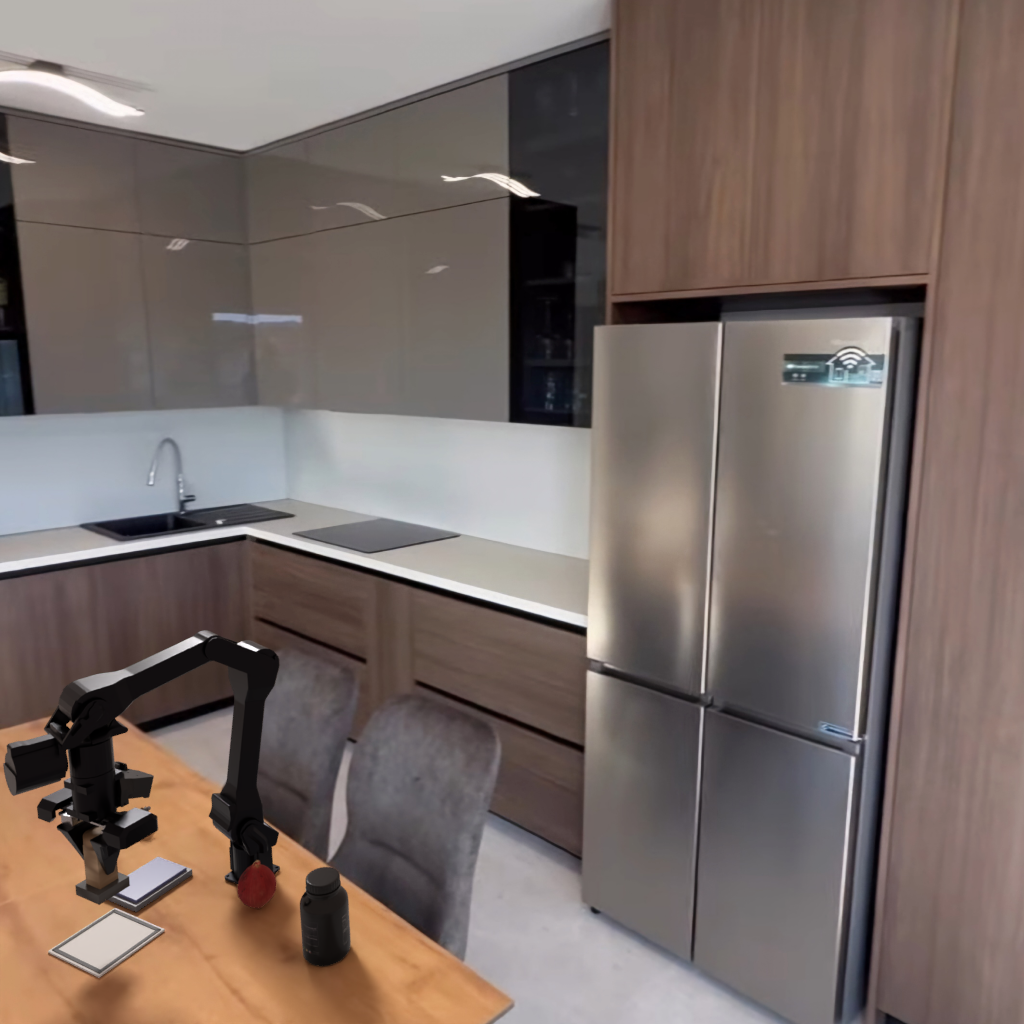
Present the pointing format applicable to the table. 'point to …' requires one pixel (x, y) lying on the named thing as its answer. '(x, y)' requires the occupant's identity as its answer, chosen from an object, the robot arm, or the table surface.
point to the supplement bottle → (324, 918)
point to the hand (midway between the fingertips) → (101, 869)
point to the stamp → (98, 874)
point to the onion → (256, 885)
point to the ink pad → (151, 883)
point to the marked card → (106, 942)
